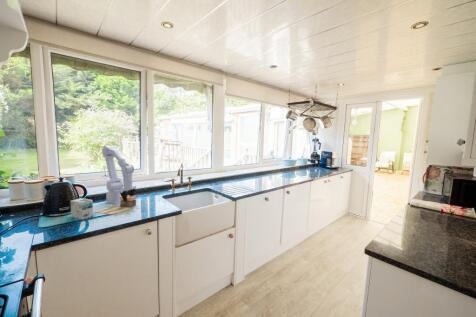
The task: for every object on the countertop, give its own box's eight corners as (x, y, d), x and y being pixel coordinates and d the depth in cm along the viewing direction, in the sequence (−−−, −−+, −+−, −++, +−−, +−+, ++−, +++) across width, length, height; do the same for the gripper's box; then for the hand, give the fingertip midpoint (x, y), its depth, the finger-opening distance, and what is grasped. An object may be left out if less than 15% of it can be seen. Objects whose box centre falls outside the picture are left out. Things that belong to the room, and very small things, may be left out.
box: (120, 206, 146) (120, 200, 146) (125, 204, 151) (125, 198, 151) (131, 207, 145) (131, 201, 144) (136, 205, 149) (135, 199, 149)
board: (95, 213, 133) (95, 212, 132) (112, 206, 146) (112, 205, 146) (118, 216, 129) (118, 215, 129) (133, 208, 142) (133, 208, 142)
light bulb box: (93, 216, 128) (93, 199, 127) (82, 220, 121) (81, 202, 120) (82, 213, 131) (81, 197, 130) (70, 217, 125) (69, 200, 124)
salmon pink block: (119, 200, 146) (119, 197, 146) (125, 198, 151) (125, 195, 151) (131, 202, 144) (130, 198, 144) (136, 199, 149) (136, 196, 149)
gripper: (125, 184, 138) (125, 203, 140) (139, 180, 153) (139, 197, 154) (116, 183, 140) (116, 202, 141) (131, 179, 154) (131, 197, 155)
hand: (128, 200), depth 148 cm, fingers closed on salmon pink block, 5 cm apart
